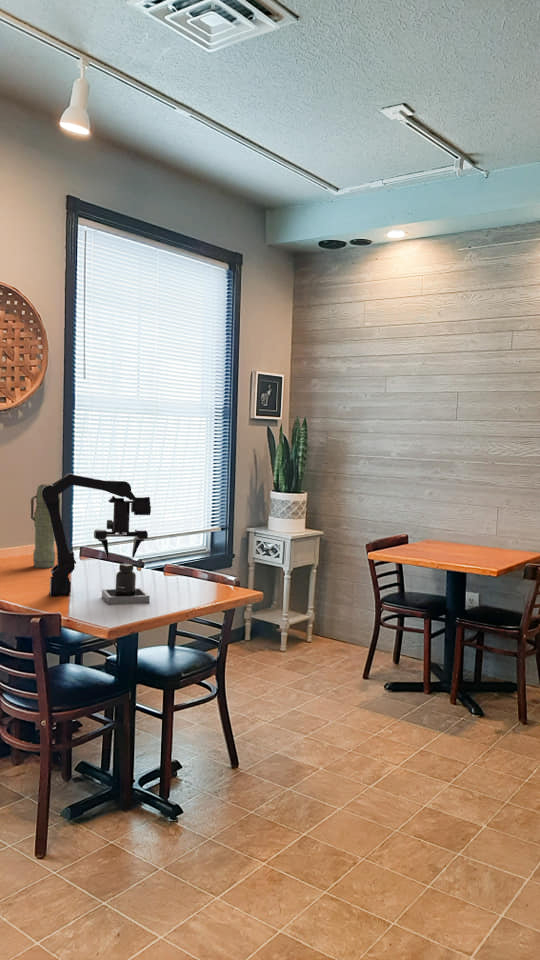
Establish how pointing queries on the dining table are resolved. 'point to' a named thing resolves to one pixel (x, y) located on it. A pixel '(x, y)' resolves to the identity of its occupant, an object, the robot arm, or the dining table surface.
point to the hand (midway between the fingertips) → (120, 557)
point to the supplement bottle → (125, 581)
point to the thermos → (43, 533)
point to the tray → (125, 597)
